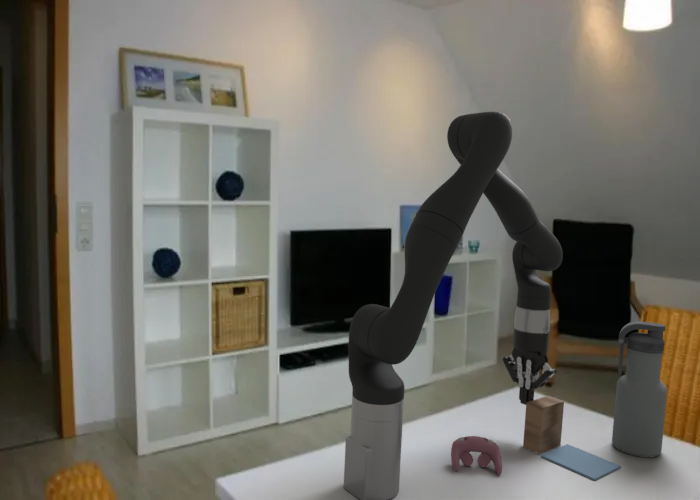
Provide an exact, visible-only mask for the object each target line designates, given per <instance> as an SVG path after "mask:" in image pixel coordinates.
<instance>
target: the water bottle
mask: <svg viewBox="0 0 700 500" xmlns="http://www.w3.org/2000/svg"><path fill="white" fill-rule="evenodd" d="M634 330H636V331H637V330H644V331H645V330H646V331H647V333H646V332H632V333H630V332H631V331H634ZM664 332H666V324H662V323H659V322H658V323H657V322H649V321H648V322H647V321H639V320H638V321H630V322H629V323H627V324H625V325H624V326H623V327H622V328H621V330H620V331H619V334H618V340H617V341H618V343H619V344H620V347H619V348H620V349H619V357H618V367H617V376H620V377H619V378H618V379H617V382H616V389H615V402H614V413H613V424H612V434H611V435H612V436H611V442H612V444H613V446H614V447H616V448H615V449H618V450H620V451H621V452H623V453H625V454H628V455H631V456H634V457H639V458H654V457H657V456H659V455H660V454H661V453H662V449H663V437H664V427H665V417H666V406H667V399H668V398H667V397H668V389H667V386H666V385H665V383H664V382H662V380H661V370H662V369H661V368H662V358H663V357H662V356H663V355H664V351H665V339H664ZM628 333H630V334H628ZM627 334H628V336H627ZM626 336H627V337H626ZM626 344H627V347H626V349H627V358H626V359H627V360H626V368H625V369H626V371H625V374H624V375H622V371H623V361H624V348H625V347H624V346H625V345H626Z"/></svg>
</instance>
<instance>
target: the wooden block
mask: <svg viewBox="0 0 700 500" xmlns="http://www.w3.org/2000/svg"><path fill="white" fill-rule="evenodd" d="M564 407H565V400H561V399H559V398H555V397H553V396H550V395H546V396H543V397H539V398H536V399H534V400H533V401H529V402H526V405H525V414H524V415H525V418H524V431H523V443H522V448H524V449H527V450H529V451H531V452H533V453H536V454H538V455H542V454H544V453H546V452H549V451H551V450H554V449H556V448H559V447H561V443H562V431H563V419H564Z"/></svg>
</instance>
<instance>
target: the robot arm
mask: <svg viewBox="0 0 700 500" xmlns="http://www.w3.org/2000/svg"><path fill="white" fill-rule="evenodd" d="M446 138H447V139H446V140H447V144H448V148H449V149H450V151H451V154H452V155H453V156H454V158H455V160H456V161H457V162H458V163H459V164H460V166H459V167H458V169H457V170H456V171H454V173H453V174H452V175H451V176H450V177H449V178H448V179H447V180H446V181H444V183H443V184H441V185H440V186H438V188H437V189H435V191H433V192H432V193H431V194H430V195H429V196H428V197H427V198H426V199H425V200H424V202H423V203H421V205H420V207H419V209H418V210H417V212H416V214H415V216H414V217H413V218H414V219H413V220H412V223H411V224H410V226H409V229H408V231H407V233H406V236H405V240H404V277H403V281H402V283H401V287H400V289H399V290H398V293H397V295H396V297H395V299H394V301H393V303H392V304H391V306H390V307H387V306H384V305H381V304H380V305H379V304H377V303H375V304H374V303H370V304H365V305H363V306H361V307H360V308H359V309H358V310H357V311H356V312H355V314H354V315H353V317H352V320H351V322H350V325H349V329H348V330H349V331H348V376H349V380H350V384H351V389H352V394H351V396H352V397H351V398H352V399H351V416H350V434H349V436H347V437H346V438H345V445H344V446H345V447H344V469H343V472H344V475H343V488H344V489H345V490H346V491H347V492H349V493H351V495H353V496H355V497H356V498H357V499H359V500H390V499H393V498H395V497H396V496H397V495H398V494H399V492H400V477H401V476H400V475H401V458H402V442H403V438H402V437H403V423H404V422H403V421H404V405H405V404H404V403H405V383H404V380H402V378H401V377H400V376H399V374H398V373H397V372H396V371H395V368H394V367H393V365H395V366H396V365H399V364H401V363H402V362H404V361H405V360H406V359H408V358H409V356H410V355H411V353H412V352H413V350H414V349H415V346H416V345H417V343H418V340H419V338H420V335H421V332H422V330H423V327H424V324H425V320H426V319H427V316H428V312H429V310H430V308H431V307H430V306H431V305H432V302H433V299H434V296H435V294H436V292H437V290H438V287H439V285H440V284H441V280H442V278H443V276H444V274H445V271H446V270H447V267H448V265H449V263H450V262H451V260H452V257H453V255H454V254H455V252H456V249H457V247H458V245H459V243H460V242H461V239H462V237H463V235H464V233H465V230H466V228H467V225H468V224H469V221H470V219H471V217H472V215H473V213H474V212H475V209H476V207H477V205H478V203H479V202H480V199H481V198H482V195H484V196H485V197H486V198H487V200H488V202H489V203H490V205H491V206H492V208H493V210H494V211H495V212H496V215H497V216H498V218H499V220H500V222H501V224H502V225H503V228H504V230H505V231H506V233H507V235H508V236H509V238H510V239H512V240H513V241H515V244H514V245H513V247H512V248H513V249H512V254H511V256H512V257H511V258H512V265H513V269H514V275H515V279H516V280H515V282H516V285H517V295H516V297H517V299H516V308H515V314H514V323H513V334H512V346H513V348H512V351H511V354H510V355H507V356H505V357H503V358H502V362H503V364H504V365H505V366H504V367H505V369H507V372H508V374H509V376H510V378H511V380H512V382H514V383H517V385H518V387H519V394H518V399H519V401H520V404H522V405H525V406H526V402H529V401H533V400H535V399H534V398H535V390H536V389H539V388H543V387H544V386H545V385H546V384H547V383H548V382H549V381H550V380H551V379H552V378H553V377H554V376H555V375H556V374H557V373H558V371H557V369H556V368H552V367H551V365H550V364H549V358H548V355H547V353H548V350H549V341H550V331H551V329H550V328H551V300H552V286H551V285H550V284H549V282H546V281H544V280H542V279H540V278H539V277H538V276H539V275H538V274H537V271H540V272H541V271H542V272H552V271H555V270H557V269H558V268H560V266H561V265H562V262H563V258H564V257H563V256H564V255H563V254H564V252H563V248H562V246H561V243H560V242H559V240H558V238H557V237H556V236H555V235H554V233H553V232H551V231H550V229H549V228H548V227H547V226H546V225H545V224H544V223H543V222H542V221H541V220H540V219H539V217H538V214H537V213H536V212H537V211H536V210H535V208H534V206H533V204H532V202H531V201H530V199H529V197H528V196H527V194H526V193H525V192H524V191H523V190H522V189H521V188H520V187H519V186H518V185H517V184H516V183H514V182H513V181H512V180H511V179H510V178H509V177H507V175H505V174H504V172H502V171H501V170H500V169H499V168H500V166H501V164H502V162H503V161H504V159H505V157H506V156H507V153H508V152H509V149H510V146H511V143H512V139H513V125H512V121H511V119H510V118H509V117H508V115H506V114H505V113H504V112H500V111H482V112H475V113H474V112H473V113H467V114H461V115H459V116H457V117H455V118H454V119H453V120H452V121H451V122H450V124H449V126H448V129H447V136H446ZM540 372H541V375H540Z"/></svg>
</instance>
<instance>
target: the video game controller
mask: <svg viewBox="0 0 700 500" xmlns="http://www.w3.org/2000/svg"><path fill="white" fill-rule="evenodd" d="M450 449H451V450H450V459H451V460H450V461H451V467H452V471H454V472H456V473H457V472H458V470H459V467H460V460H461V463H462V465H464V466H466V467H469V466H472V465H473V464H474V456H473V455H472V454H471V453H473V452H475V453H480V455H478V458H477V464H478V466H480V467H481V468H487V467H488V466H489V465H490V463H491V462H492V463H493V466H494V469H495V473H496V475H497V476H500V475H501V474H502V473H503V472H502V471H503V460H502V453H501V449H500V447H499V445H498V444H497V443H496V442H495V441H494V440H492V439H489V438H486V437H482V436H477V435H476V436H475V435H472V436H471V435H468V436H463V437H462V436H461V437H458V438H457V439H455V440H454V441H453V442H452V444H451V448H450Z"/></svg>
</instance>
